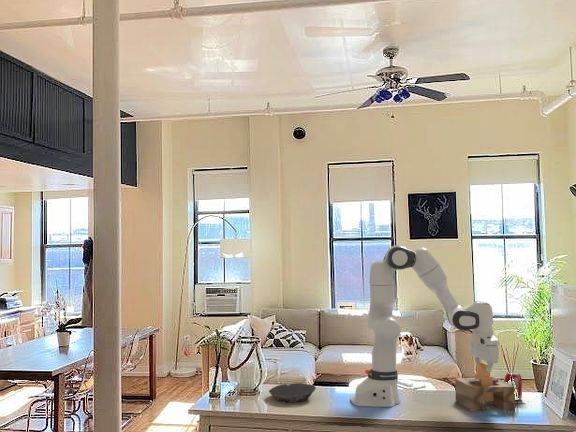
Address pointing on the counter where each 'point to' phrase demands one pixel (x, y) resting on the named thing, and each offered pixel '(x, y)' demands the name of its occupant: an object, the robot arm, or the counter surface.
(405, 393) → the counter surface
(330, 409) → the counter surface
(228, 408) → the counter surface
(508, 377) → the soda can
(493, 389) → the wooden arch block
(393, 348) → the robot arm
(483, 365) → the stepped wooden block
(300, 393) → the bowl
